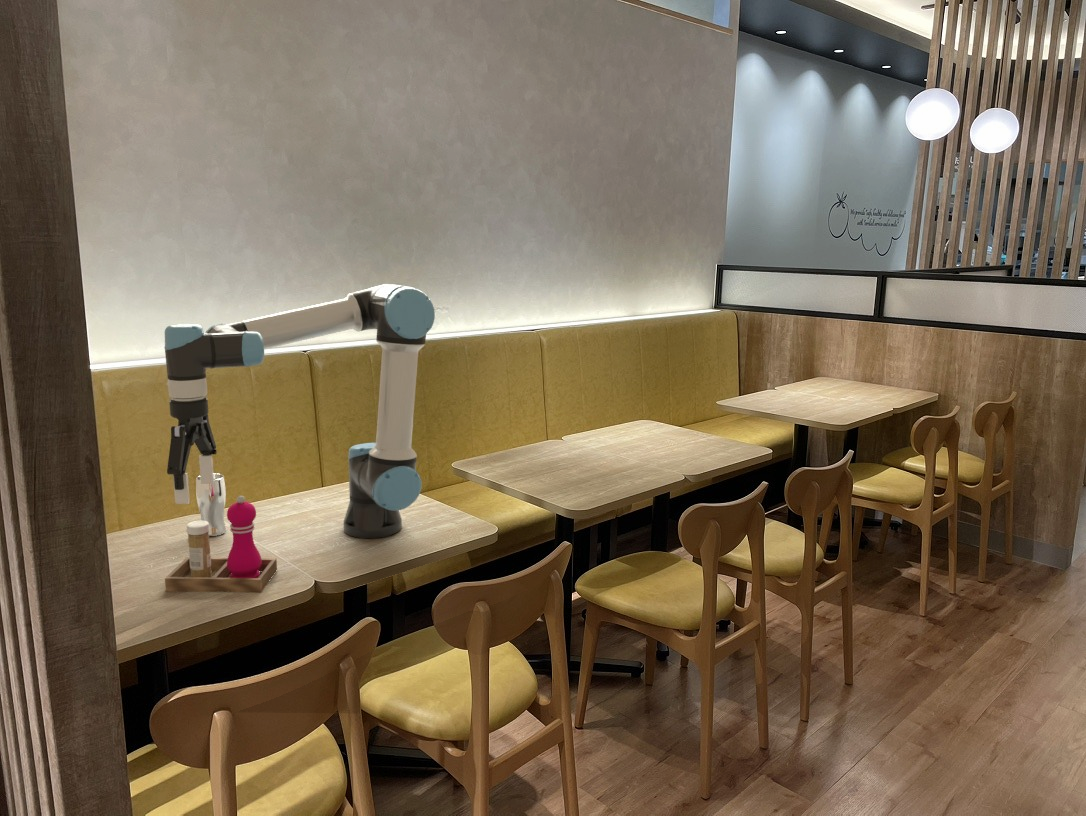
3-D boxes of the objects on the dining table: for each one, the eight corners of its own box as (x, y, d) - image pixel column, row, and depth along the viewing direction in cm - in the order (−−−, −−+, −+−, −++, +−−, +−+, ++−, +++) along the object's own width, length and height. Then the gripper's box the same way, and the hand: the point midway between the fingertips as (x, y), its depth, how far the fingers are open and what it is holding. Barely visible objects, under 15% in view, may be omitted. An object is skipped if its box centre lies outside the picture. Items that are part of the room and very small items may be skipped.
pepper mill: (222, 580, 181) (217, 495, 177) (253, 571, 186) (249, 488, 182) (236, 591, 176) (231, 503, 172) (268, 581, 181) (263, 496, 177)
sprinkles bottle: (216, 578, 182) (213, 522, 179) (199, 586, 178) (196, 528, 175) (203, 574, 184) (199, 518, 181) (185, 581, 180) (181, 524, 177)
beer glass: (217, 538, 205) (214, 482, 202) (193, 536, 206) (189, 479, 203) (233, 529, 212) (230, 474, 208) (209, 527, 213) (205, 472, 210)
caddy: (277, 570, 187) (276, 558, 186) (260, 592, 175) (260, 579, 175) (187, 569, 186) (186, 557, 186) (165, 591, 175) (164, 578, 174)
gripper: (194, 386, 184) (200, 475, 189) (143, 409, 160) (152, 512, 164) (227, 386, 184) (233, 476, 189) (181, 410, 160) (189, 512, 164)
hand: (195, 493), depth 177 cm, fingers open, 13 cm apart
